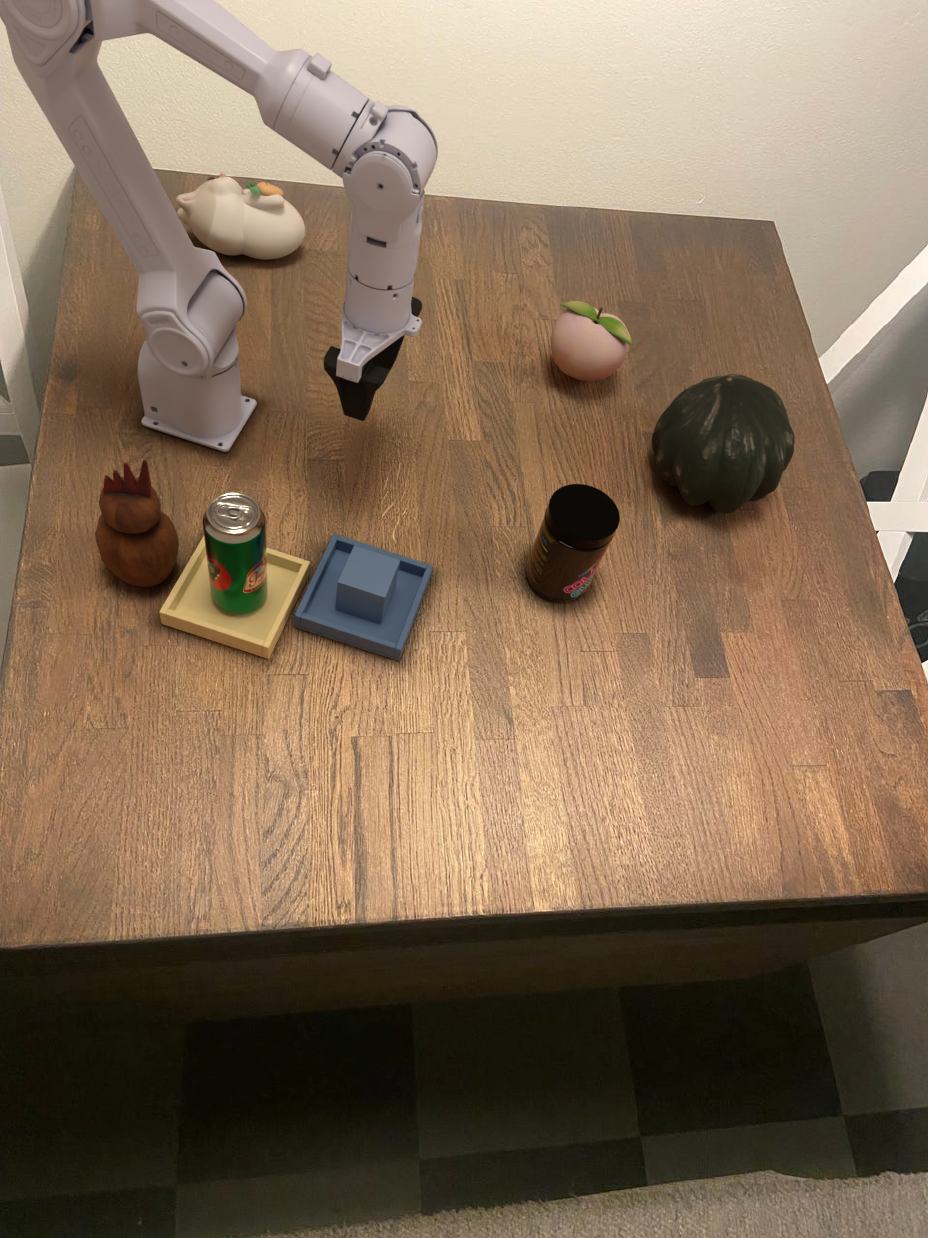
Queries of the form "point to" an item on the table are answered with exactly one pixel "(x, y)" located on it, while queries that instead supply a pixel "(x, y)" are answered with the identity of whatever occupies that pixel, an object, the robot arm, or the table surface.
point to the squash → (724, 442)
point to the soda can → (236, 553)
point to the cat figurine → (242, 218)
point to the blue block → (367, 584)
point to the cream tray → (246, 632)
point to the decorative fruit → (588, 342)
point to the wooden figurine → (135, 530)
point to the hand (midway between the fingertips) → (368, 389)
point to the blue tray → (355, 631)
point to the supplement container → (571, 541)
